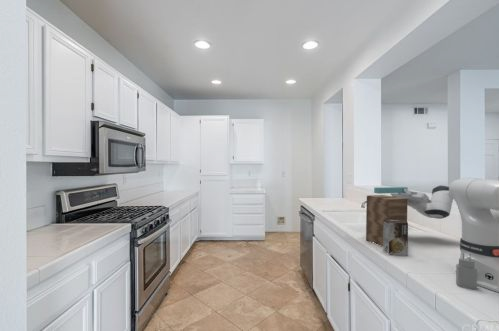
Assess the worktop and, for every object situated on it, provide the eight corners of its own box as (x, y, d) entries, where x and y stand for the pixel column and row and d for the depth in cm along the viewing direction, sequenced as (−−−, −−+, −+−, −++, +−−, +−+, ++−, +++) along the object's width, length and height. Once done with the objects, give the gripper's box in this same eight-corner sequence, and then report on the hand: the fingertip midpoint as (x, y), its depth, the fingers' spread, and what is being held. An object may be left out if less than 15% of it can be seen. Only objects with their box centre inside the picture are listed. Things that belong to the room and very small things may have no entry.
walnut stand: (406, 247, 131) (407, 198, 131) (389, 249, 127) (390, 199, 127) (382, 238, 146) (382, 195, 146) (365, 240, 142) (366, 195, 142)
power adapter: (455, 282, 92) (456, 250, 92) (474, 286, 89) (475, 253, 89) (457, 286, 89) (458, 253, 89) (477, 289, 86) (478, 256, 86)
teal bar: (407, 192, 139) (407, 187, 139) (378, 193, 133) (378, 188, 133) (402, 192, 142) (402, 186, 142) (374, 192, 136) (374, 187, 136)
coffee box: (401, 251, 124) (401, 219, 124) (408, 256, 118) (408, 222, 118) (382, 250, 125) (383, 219, 125) (388, 255, 119) (389, 222, 119)
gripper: (431, 208, 133) (415, 196, 129) (397, 202, 152) (383, 191, 149) (435, 198, 134) (419, 185, 130) (401, 193, 153) (387, 182, 150)
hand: (400, 189), depth 140 cm, fingers closed on teal bar, 3 cm apart
